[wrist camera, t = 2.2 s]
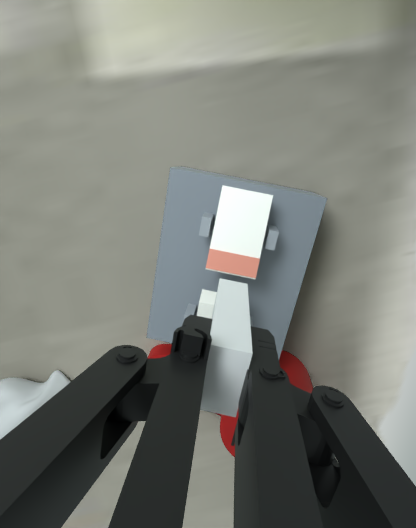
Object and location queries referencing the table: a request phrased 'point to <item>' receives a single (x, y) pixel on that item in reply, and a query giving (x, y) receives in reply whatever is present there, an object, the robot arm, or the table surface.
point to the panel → (198, 244)
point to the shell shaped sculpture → (25, 398)
